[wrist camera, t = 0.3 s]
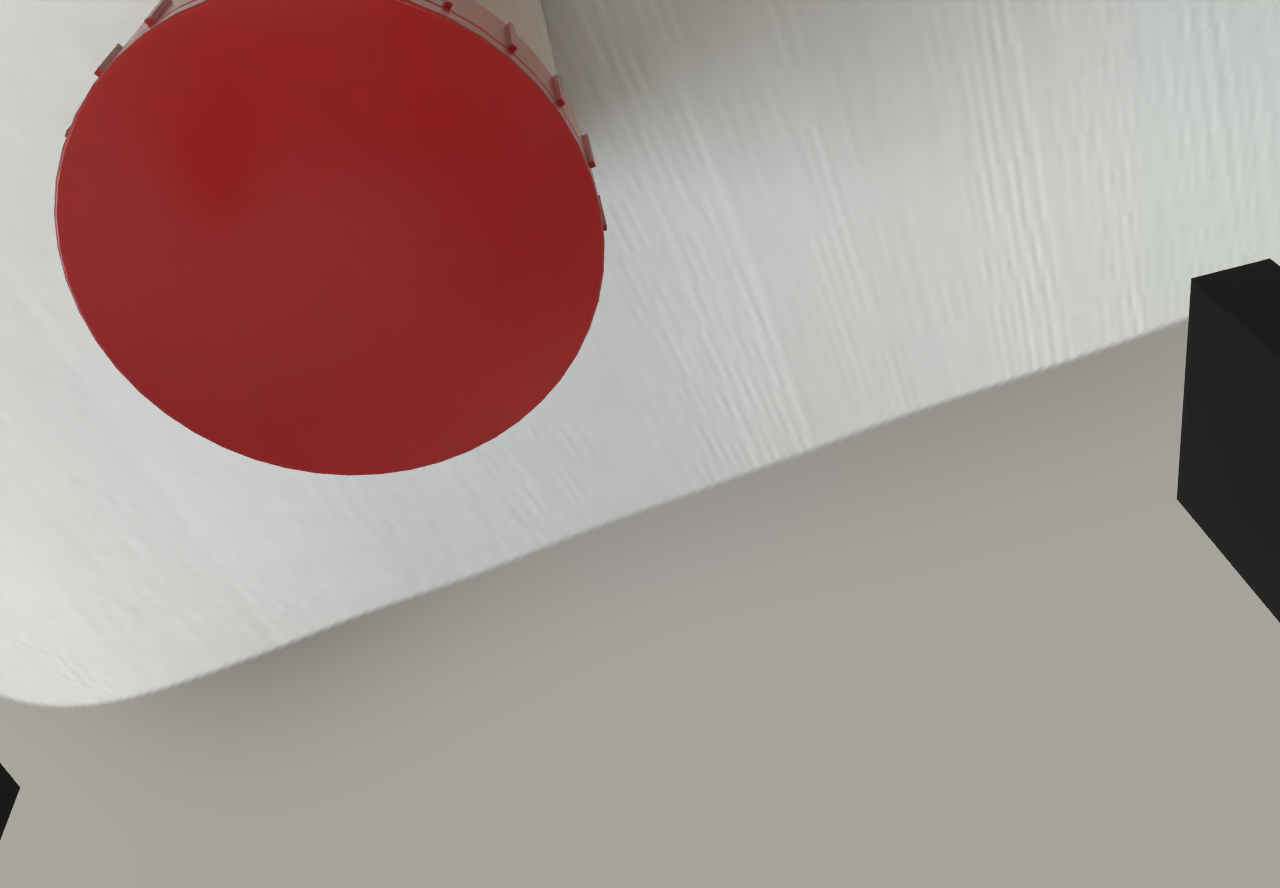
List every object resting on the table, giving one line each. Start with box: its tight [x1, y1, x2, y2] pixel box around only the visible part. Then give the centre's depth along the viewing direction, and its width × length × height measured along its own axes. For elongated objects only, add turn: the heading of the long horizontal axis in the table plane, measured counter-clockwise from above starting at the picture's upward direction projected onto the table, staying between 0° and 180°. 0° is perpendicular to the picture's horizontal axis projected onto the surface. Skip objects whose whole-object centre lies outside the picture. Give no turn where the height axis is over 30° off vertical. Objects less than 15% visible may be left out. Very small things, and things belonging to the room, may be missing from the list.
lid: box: [54, 0, 607, 475], centre depth 19 cm, size 8×8×2 cm
